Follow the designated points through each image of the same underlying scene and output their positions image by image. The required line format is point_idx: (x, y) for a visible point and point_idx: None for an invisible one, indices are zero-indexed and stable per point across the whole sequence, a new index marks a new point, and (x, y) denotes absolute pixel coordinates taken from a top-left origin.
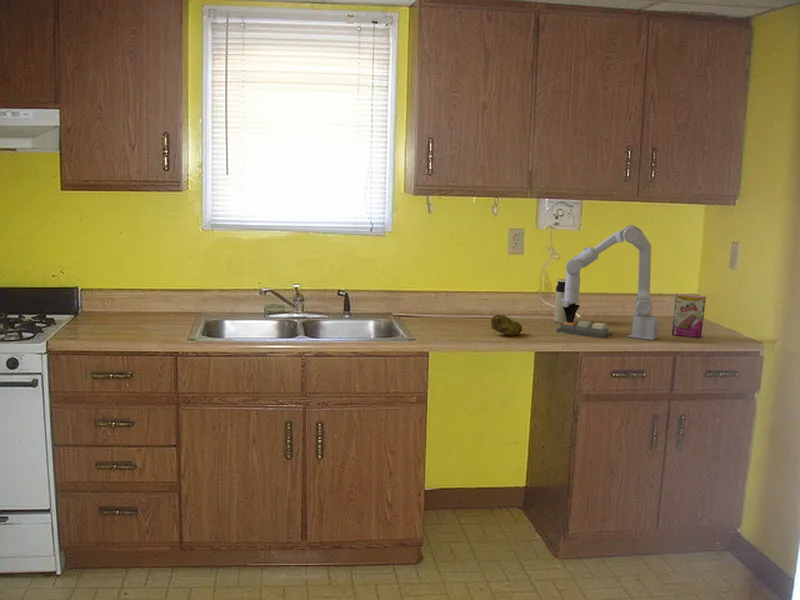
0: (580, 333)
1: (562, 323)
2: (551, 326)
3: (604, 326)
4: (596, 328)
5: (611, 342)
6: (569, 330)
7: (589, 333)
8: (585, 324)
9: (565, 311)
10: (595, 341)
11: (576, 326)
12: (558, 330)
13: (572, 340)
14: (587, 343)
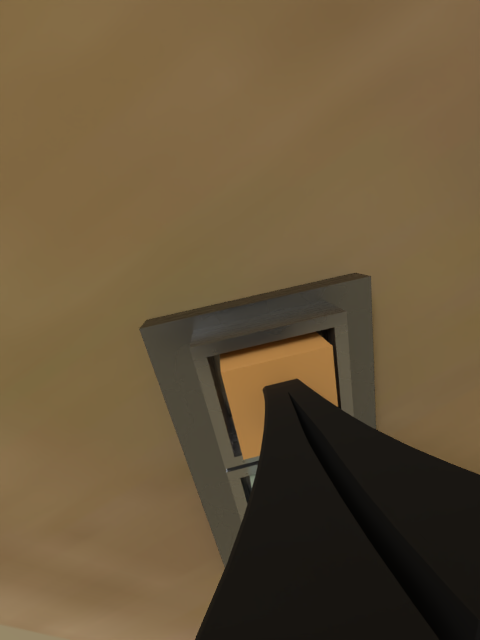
0: (200, 489)
1: (239, 341)
2: (345, 120)
3: None
4: None
5: (183, 628)
6: (186, 424)
7: (218, 539)
8: None
9: (250, 518)
10: (128, 595)
11: (229, 482)
12: (147, 342)
13: (12, 539)
14: (37, 608)
